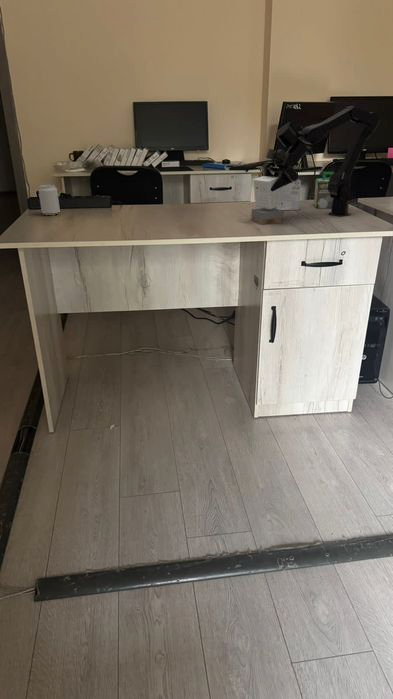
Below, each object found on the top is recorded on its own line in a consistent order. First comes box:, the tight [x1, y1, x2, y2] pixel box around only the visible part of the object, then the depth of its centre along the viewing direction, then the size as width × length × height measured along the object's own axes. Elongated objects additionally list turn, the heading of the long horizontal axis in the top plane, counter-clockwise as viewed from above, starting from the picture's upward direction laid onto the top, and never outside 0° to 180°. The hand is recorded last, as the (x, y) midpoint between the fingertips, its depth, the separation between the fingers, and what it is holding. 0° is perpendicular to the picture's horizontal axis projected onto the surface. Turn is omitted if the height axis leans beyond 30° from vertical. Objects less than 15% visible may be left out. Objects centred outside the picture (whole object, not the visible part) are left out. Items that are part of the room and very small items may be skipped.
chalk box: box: [313, 171, 335, 209], centre depth 220 cm, size 9×9×15 cm
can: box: [38, 184, 61, 214], centre depth 213 cm, size 8×8×12 cm
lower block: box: [251, 215, 284, 225], centre depth 197 cm, size 9×9×2 cm
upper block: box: [251, 207, 285, 220], centre depth 195 cm, size 9×9×2 cm
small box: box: [253, 175, 280, 209], centre depth 192 cm, size 8×6×10 cm
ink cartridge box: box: [275, 178, 302, 211], centre depth 216 cm, size 10×6×14 cm, turn 87°
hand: (265, 188), depth 191 cm, fingers closed on small box, 9 cm apart
